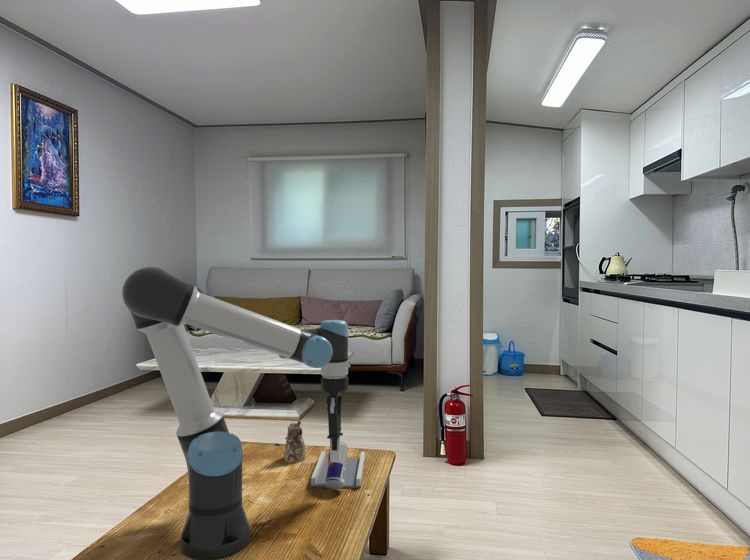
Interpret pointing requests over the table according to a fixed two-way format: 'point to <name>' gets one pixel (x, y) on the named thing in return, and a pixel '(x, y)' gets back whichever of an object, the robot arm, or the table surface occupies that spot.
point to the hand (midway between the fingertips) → (335, 460)
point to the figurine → (294, 444)
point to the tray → (351, 475)
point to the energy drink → (337, 469)
